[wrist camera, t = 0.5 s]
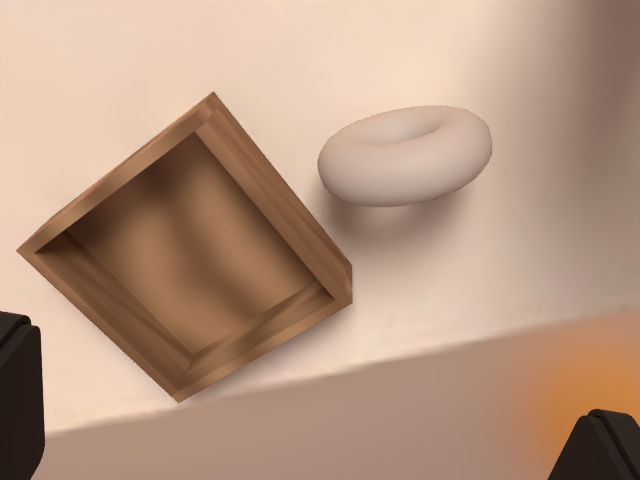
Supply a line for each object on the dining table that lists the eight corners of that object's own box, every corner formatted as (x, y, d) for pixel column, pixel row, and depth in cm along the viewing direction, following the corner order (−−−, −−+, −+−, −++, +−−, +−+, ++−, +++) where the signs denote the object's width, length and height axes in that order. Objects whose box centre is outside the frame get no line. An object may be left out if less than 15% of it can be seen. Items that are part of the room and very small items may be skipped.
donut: (470, 85, 36) (510, 133, 28) (476, 138, 38) (515, 198, 29) (315, 118, 38) (305, 173, 29) (327, 167, 39) (321, 234, 31)
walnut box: (213, 91, 37) (195, 111, 33) (351, 265, 43) (352, 302, 38) (50, 217, 42) (15, 250, 38) (194, 359, 47) (178, 403, 43)
